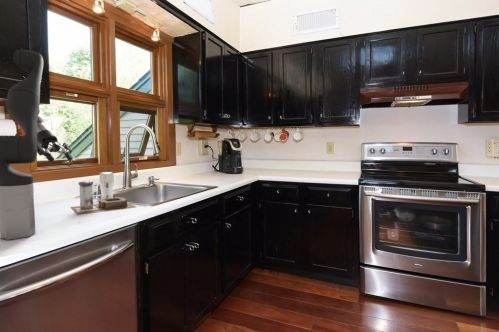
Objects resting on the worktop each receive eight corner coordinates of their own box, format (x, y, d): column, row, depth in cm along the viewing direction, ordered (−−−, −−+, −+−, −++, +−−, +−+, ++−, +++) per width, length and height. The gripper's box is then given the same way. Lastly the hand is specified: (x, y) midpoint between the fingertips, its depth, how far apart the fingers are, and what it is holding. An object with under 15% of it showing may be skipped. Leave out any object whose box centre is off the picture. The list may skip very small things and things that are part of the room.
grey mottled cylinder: (95, 208, 127) (94, 182, 126) (80, 210, 123) (79, 183, 122) (92, 206, 131) (91, 180, 130) (78, 208, 128) (77, 181, 127)
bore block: (136, 210, 132) (136, 200, 132) (77, 218, 117) (76, 207, 117) (124, 203, 146) (124, 195, 146) (70, 210, 131) (69, 200, 130)
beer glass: (100, 199, 156) (100, 172, 154) (114, 198, 158) (114, 172, 157) (99, 202, 149) (98, 173, 148) (113, 201, 152) (113, 173, 150)
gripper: (30, 128, 123) (50, 155, 120) (62, 130, 136) (80, 154, 133) (23, 140, 125) (42, 167, 122) (55, 141, 139) (72, 165, 135)
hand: (62, 160), depth 128 cm, fingers open, 8 cm apart
